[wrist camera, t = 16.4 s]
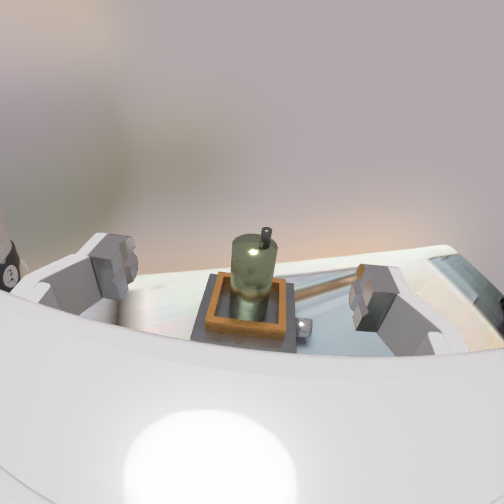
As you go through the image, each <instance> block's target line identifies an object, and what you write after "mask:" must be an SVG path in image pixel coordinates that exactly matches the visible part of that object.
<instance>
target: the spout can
mask: <svg viewBox="0 0 504 504" xmlns="http://www.w3.org/2000/svg"><path fill="white" fill-rule="evenodd" d="M271 233H272V229H271V228H269V227H264V228H262V233H261V235H260V234H244V235H241V236H238V237H237V238H235V240H234V241H233V244H232V260H231V279H230V299H229V311H230V313H231V315H232V316H233V317H234V318H236V319H239V320H248V321H256V322H257V321H259V320H261V319H263V318H264V317H265V316H266V314H267V309H268V303H269V297H270V291H271V286H272V280H273V274H274V267H275V261H276V255H277V248H278V247H277V244H276V243H275V241H274V240H272V239H271Z"/></svg>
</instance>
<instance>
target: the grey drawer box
mask: <svg viewBox="0 0 504 504" xmlns="http://www.w3.org/2000/svg"><path fill="white" fill-rule="evenodd" d="M230 279H231V273H226V272H218V275H217V274H210V276H209V279H208V282H207V285H206V289H205V292H204V295H203V298H202V301H201V304H200V308H199V311H198V314H197V317H196V321H195V324H194V327H193V331H192V334H191V337H190V339H191V341H196V342H203V343H209V344H216V345H223V346H230V347H237V348H245V349H254V350H263V351H273V352H283V353H296V337H307V338H310V336H311V333H312V319H307V318H296V317H295V300H294V284H293V283H286V280H285V279H276V278H273V280H272V286H271V291H270V297H269V303H268V309H267V314H266V316H265V317H264V318H263V319H261V320H259V321H257V322H256V321H248V320H239V319H236V318H234V317H233V316H232V315H231V313H230V311H229V299H230Z"/></svg>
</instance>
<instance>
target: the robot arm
mask: <svg viewBox="0 0 504 504" xmlns="http://www.w3.org/2000/svg"><path fill="white" fill-rule="evenodd" d="M134 249H135V242H134V239H133V238H132V237H131V236H123V235H116V234H108V233H101V232H100V233H96V234H95V235H94V236H93V237H92V238H91V239H90V240H89V241H88V242H87V243H86V244H85V245H84V246H83V247H82V248H81V249H80V251H78V252H77V253H76V254H71V255H69V256H67V257H64V258H62V259H60V260H58V261H55V262H53V263H51V264H49V265H47V266H45V267H42V268H40V269H38V270H36V271H34V272H32V273H29V271H28V269H27V267H26V265H25V263H24V261H23V260H20V259H19V256H18V252H17V249H16V247H15V245H14V243H13V241H11V240H10V237H9V234H8V231H7V227H6V224H5V221H4V217H3V213H2V210H1V206H0V504H504V348H501V349H493V350H485V351H477V352H470V350H469V348H468V346H467V344H466V342H465V340H464V338H463V335H462V333H461V331H460V330H459V329H458V328H456V327H455V326H454V325H453V324H452V323H450V322H449V321H448V320H447V319H445V318H444V317H443V316H442V315H441V314H439V313H438V312H437V311H436V310H434V309H433V308H432V307H431V306H429V305H428V304H427V303H426V302H424V301H423V300H422V299H420V298H419V297H418V296H417V295H413V294H412V292H411V290H410V288H409V286H408V284H407V282H406V280H405V278H404V276H403V274H402V272H401V271H400V269H399V268H398V267H391V266H378V265H367V264H360V265H359V267H358V269H357V271H356V275H357V278H358V279H357V280H356V281H354V282H353V283H352V285H351V288H350V293H349V305H350V308H351V309H352V310H353V311H354V315H353V317H352V318H353V322H354V326H355V330H356V331H365V332H377V334H378V335H379V337H380V338H381V339H382V340H383V341H384V343H385V344H386V345H387V346H388V347H389V349H390V350H391V351H392V352H393V354H394V355H395V356H396V357H359V356H328V355H310V354H296V353H283V352H273V351H263V350H254V349H245V348H237V347H230V346H223V345H216V344H209V343H203V342H196V341H191V340H185V339H179V338H174V337H168V336H163V335H158V334H153V333H148V332H143V331H139V330H134V329H129V328H125V327H121V326H117V325H112V324H108V323H104V322H100V321H97V320H93V319H89V318H85V317H82V316H78V315H80V314H81V313H82V312H84V311H85V310H87V309H88V308H89V307H91V306H92V305H94V304H95V303H96V302H98V301H99V300H101V299H102V298H107V299H112V300H118V301H122V299H123V297H124V296H125V294H126V292H127V291H128V284H129V283H131V282H133V281H134V279H135V277H136V275H137V271H138V259H137V256H136V255H135V254H134V253H133V250H134Z"/></svg>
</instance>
